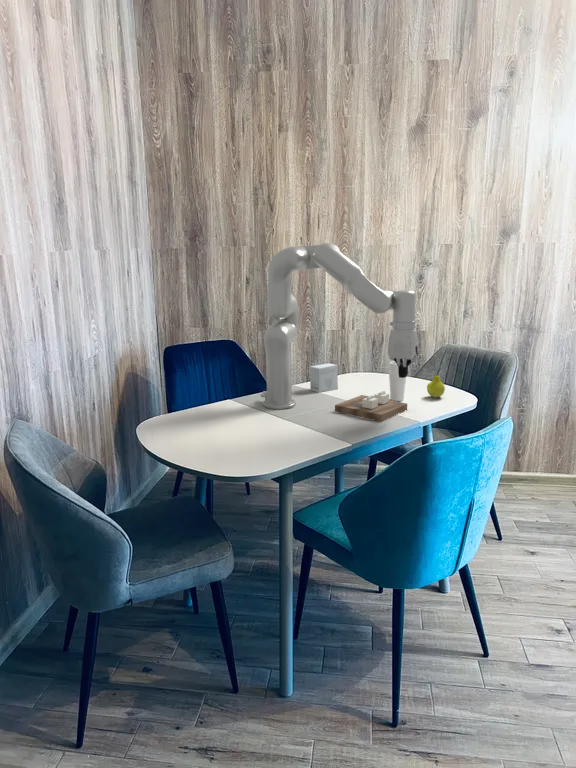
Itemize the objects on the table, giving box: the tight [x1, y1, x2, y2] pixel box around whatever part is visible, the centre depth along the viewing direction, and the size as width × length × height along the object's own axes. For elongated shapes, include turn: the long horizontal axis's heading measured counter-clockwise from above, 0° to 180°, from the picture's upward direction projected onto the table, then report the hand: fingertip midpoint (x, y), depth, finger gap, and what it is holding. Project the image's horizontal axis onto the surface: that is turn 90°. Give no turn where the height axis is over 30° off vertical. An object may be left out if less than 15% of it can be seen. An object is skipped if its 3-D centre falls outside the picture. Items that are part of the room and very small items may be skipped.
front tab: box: [362, 395, 378, 409], centre depth 204 cm, size 4×4×4 cm
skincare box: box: [309, 362, 339, 393], centre depth 240 cm, size 10×6×10 cm, turn 126°
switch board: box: [334, 394, 408, 422], centre depth 209 cm, size 20×18×2 cm
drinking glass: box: [388, 360, 407, 402], centre depth 222 cm, size 7×7×15 cm
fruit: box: [426, 368, 446, 399], centre depth 226 cm, size 7×7×12 cm
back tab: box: [373, 390, 390, 404], centre depth 210 cm, size 4×4×4 cm
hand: (403, 376), depth 203 cm, fingers closed
